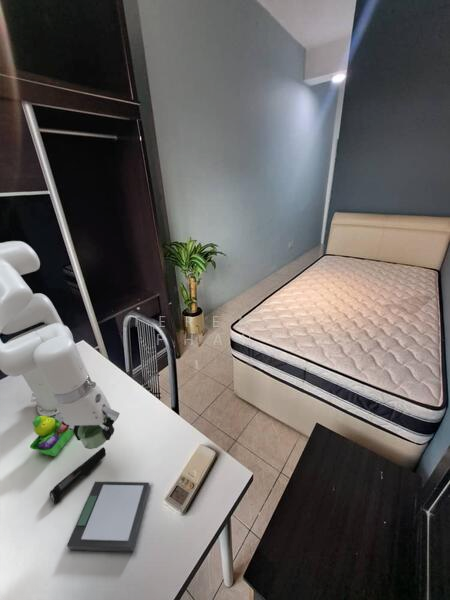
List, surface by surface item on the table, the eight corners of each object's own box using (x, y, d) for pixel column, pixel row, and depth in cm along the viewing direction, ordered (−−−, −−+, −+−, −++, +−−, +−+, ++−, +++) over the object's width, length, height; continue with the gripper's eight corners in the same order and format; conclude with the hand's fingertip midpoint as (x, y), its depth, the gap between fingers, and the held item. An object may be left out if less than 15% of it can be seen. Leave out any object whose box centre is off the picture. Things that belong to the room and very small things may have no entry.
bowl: (78, 450, 62) (71, 439, 60) (91, 425, 68) (86, 414, 66) (104, 450, 62) (98, 439, 60) (115, 424, 68) (111, 414, 66)
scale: (70, 549, 57) (65, 544, 56) (97, 485, 69) (94, 480, 67) (133, 551, 56) (130, 546, 55) (150, 486, 68) (148, 481, 66)
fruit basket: (55, 462, 75) (40, 439, 69) (32, 455, 77) (15, 433, 71) (82, 427, 84) (70, 405, 79) (61, 422, 86) (48, 401, 81)
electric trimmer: (110, 457, 75) (107, 451, 74) (55, 506, 65) (50, 500, 63) (103, 449, 78) (101, 443, 76) (49, 496, 67) (45, 489, 65)
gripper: (116, 374, 59) (133, 421, 68) (47, 375, 60) (72, 422, 68) (102, 400, 53) (123, 449, 61) (24, 401, 53) (55, 449, 62)
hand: (96, 434), depth 65 cm, fingers closed on bowl, 6 cm apart
